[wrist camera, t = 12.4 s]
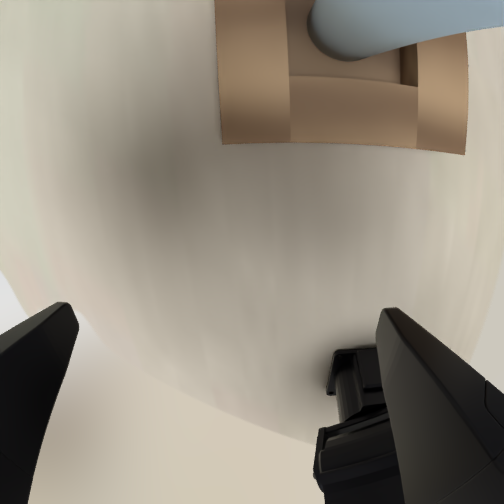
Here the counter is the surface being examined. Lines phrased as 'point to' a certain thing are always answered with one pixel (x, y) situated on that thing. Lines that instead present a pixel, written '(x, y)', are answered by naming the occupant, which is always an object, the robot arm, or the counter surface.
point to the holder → (334, 85)
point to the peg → (393, 23)
